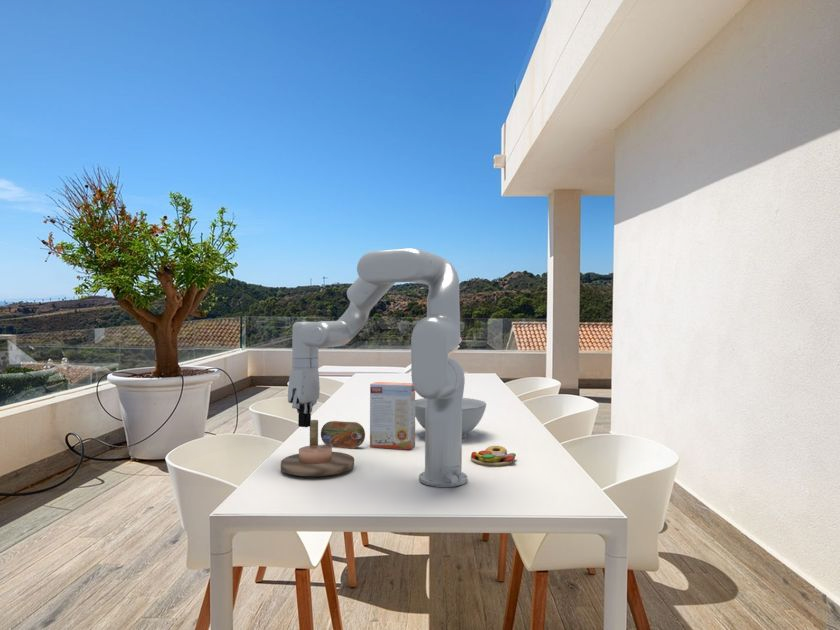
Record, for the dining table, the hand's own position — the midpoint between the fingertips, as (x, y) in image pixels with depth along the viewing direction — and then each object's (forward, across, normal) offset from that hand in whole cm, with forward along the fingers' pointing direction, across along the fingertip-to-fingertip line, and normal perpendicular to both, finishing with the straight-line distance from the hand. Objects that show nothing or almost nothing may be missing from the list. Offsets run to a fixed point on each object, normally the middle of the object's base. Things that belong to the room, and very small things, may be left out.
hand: (304, 426), depth 156 cm
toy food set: (+10, -23, +51) cm, 57 cm away
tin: (+10, -20, +1) cm, 23 cm away
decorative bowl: (+10, -49, +27) cm, 57 cm away
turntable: (+10, +5, +8) cm, 14 cm away
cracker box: (+10, -26, +16) cm, 33 cm away
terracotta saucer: (+8, +5, +7) cm, 12 cm away
